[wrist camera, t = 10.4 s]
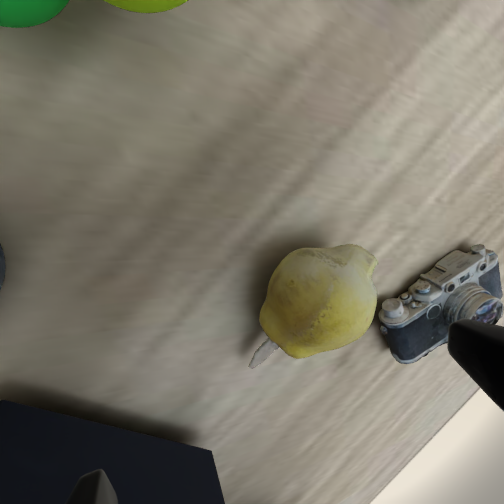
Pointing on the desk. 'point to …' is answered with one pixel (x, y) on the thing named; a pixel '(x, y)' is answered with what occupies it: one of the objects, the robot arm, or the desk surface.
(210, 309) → the desk surface
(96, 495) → the robot arm
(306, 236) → the desk surface
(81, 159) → the desk surface
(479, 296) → the camera
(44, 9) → the molecule model
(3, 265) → the pot
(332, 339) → the fruit
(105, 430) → the speaker
